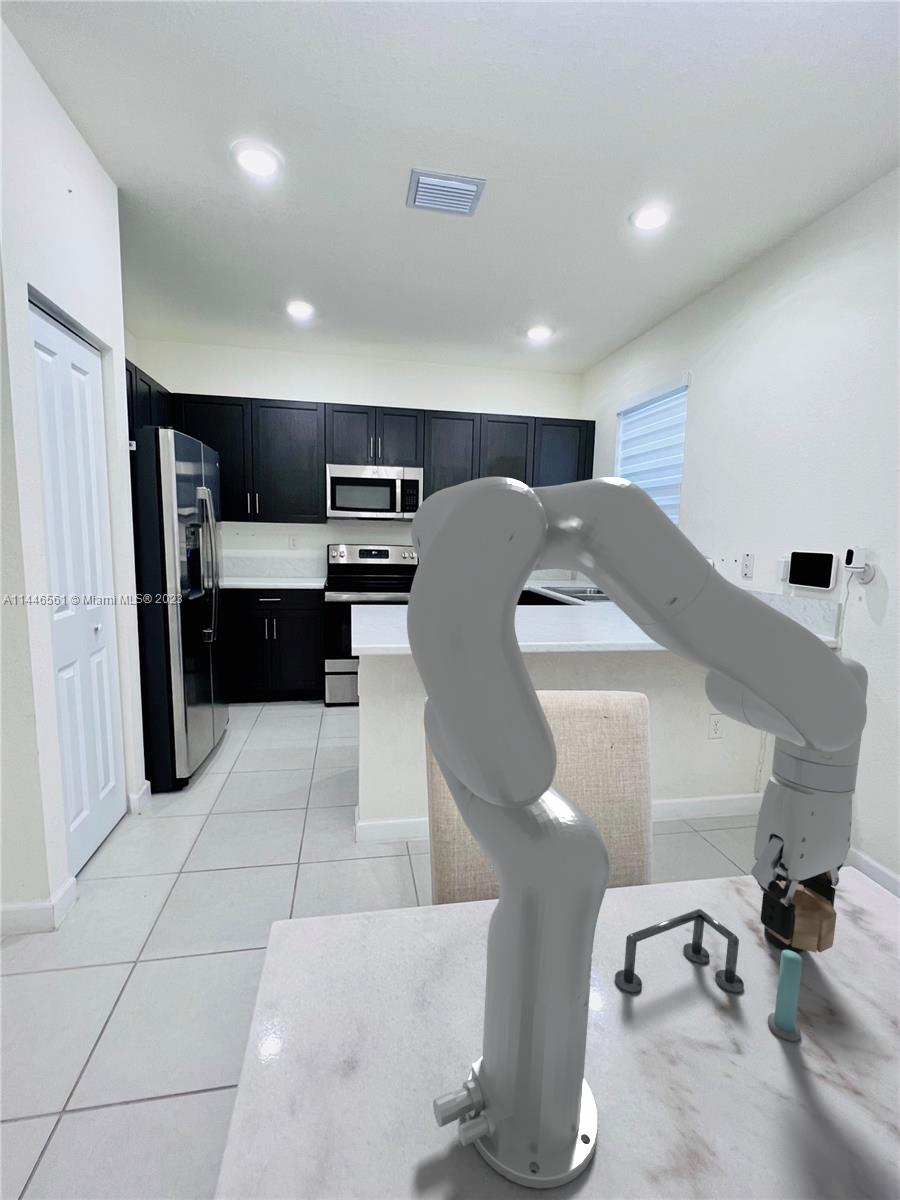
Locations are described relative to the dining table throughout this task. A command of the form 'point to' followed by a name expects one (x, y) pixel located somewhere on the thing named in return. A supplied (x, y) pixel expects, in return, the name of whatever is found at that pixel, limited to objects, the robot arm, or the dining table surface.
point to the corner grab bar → (691, 950)
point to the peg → (787, 998)
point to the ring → (810, 921)
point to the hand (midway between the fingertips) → (796, 920)
